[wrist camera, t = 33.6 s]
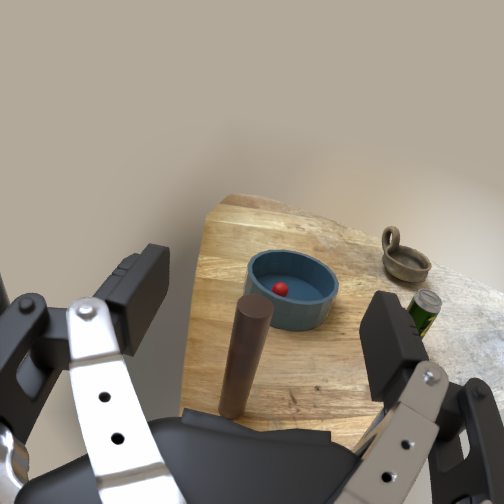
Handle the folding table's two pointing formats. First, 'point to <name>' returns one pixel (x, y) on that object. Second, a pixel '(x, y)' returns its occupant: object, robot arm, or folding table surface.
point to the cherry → (280, 289)
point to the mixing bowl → (293, 287)
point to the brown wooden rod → (244, 353)
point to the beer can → (424, 310)
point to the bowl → (403, 258)
